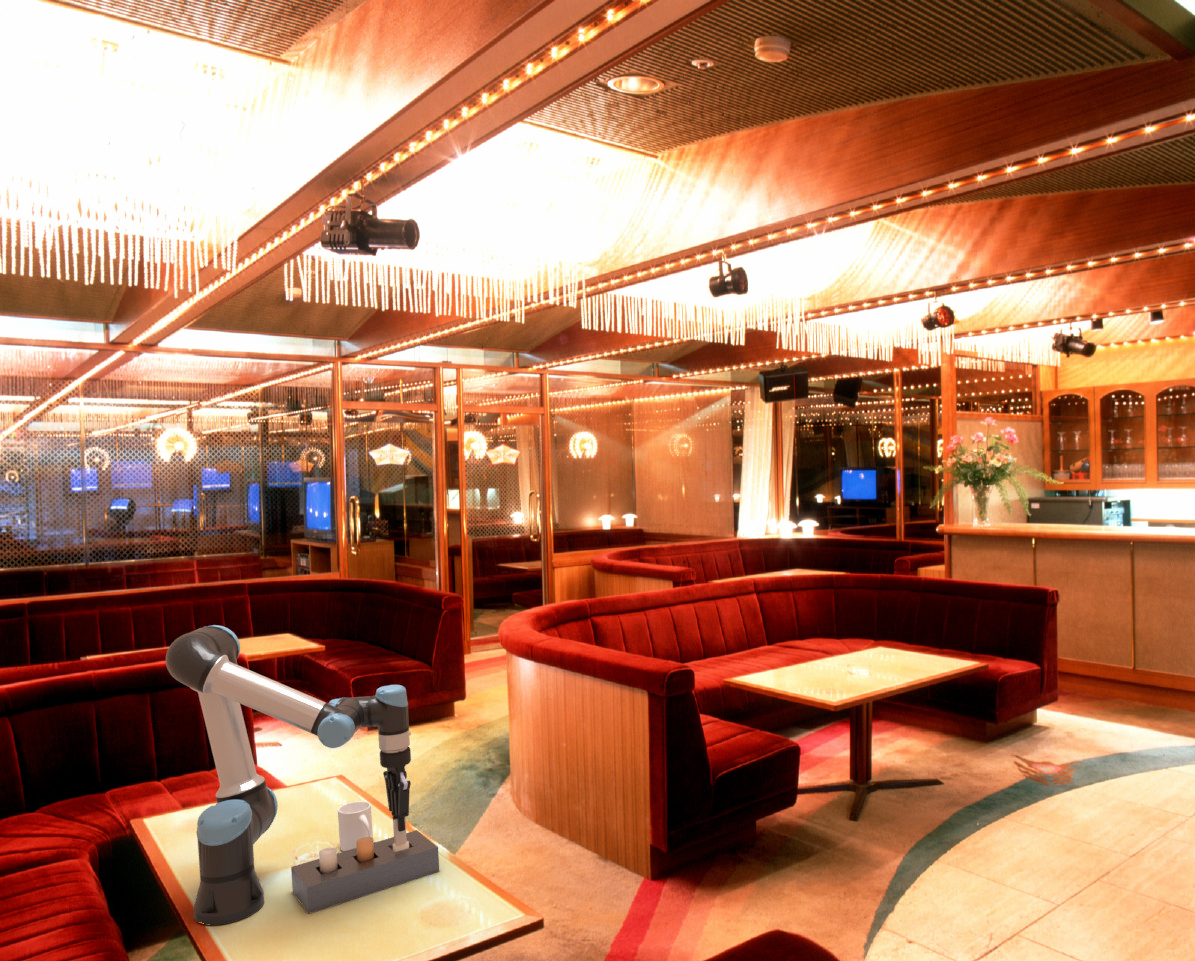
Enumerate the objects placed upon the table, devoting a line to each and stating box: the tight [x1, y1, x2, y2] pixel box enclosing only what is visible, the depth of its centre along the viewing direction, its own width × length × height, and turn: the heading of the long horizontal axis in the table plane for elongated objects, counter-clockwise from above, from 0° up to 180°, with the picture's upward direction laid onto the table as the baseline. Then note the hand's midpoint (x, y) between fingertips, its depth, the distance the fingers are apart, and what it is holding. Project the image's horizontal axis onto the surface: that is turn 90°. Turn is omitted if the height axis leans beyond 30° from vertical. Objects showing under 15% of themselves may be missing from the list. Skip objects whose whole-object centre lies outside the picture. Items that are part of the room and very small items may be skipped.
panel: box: [290, 830, 440, 915], centre depth 208 cm, size 32×14×6 cm, turn 124°
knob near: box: [318, 847, 338, 875], centre depth 203 cm, size 4×4×5 cm
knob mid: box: [356, 837, 374, 863], centre depth 208 cm, size 4×4×5 cm
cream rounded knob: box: [393, 841, 409, 852], centre depth 213 cm, size 4×4×5 cm
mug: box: [337, 800, 374, 852], centre depth 228 cm, size 9×12×11 cm
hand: (400, 842), depth 213 cm, fingers closed
